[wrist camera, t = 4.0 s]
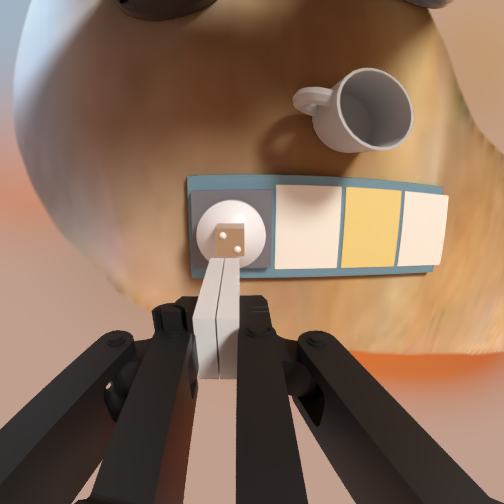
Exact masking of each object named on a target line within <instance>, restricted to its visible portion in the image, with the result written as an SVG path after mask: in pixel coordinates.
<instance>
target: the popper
mask: <svg viewBox="0 0 504 504" xmlns="http://www.w3.org/2000/svg"><path fill="white" fill-rule="evenodd" d="M196 238H197V244H198V247H199V249H200V251H201V253H202V254H203V256H204V257H205V258H206V259H207V260H208V261H210V258H224V263H225V258H239V268H242V267H245V266H247V265H249V264H250V263H252V262H253V261H254V260H256V259H257V257H258V256H259V255H260V254H261V252H262V250H263V248H264V245H265V241H266V231H265V226H264V223H263V221H262V218H261V216H260V215H259V213H258V212H257V210H256V209H255V208H254V207H252V206H251V205H250V204H248V203H246V202H244V201H241V200H237V199H226V200H222V201H219V202H217V203H215V204H213V205H212V206H211V207H210V208H208V209H207V211H206V212H205V213H204V214H203V216H202V217H201V219H200V221H199V223H198V226H197V232H196Z"/></svg>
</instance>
